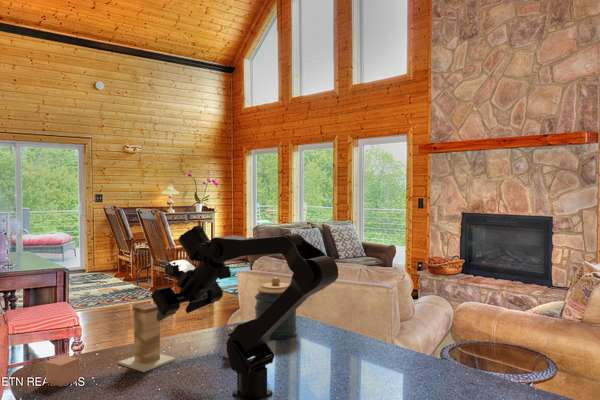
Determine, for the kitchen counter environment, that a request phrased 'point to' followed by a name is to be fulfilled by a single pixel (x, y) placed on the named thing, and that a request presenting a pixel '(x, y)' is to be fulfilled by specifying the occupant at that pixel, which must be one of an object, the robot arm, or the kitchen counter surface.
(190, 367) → the kitchen counter surface
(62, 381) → the terracotta block
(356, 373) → the kitchen counter surface
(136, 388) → the kitchen counter surface
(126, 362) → the pad
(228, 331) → the rook chess piece
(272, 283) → the canister
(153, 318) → the brown block
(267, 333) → the robot arm
